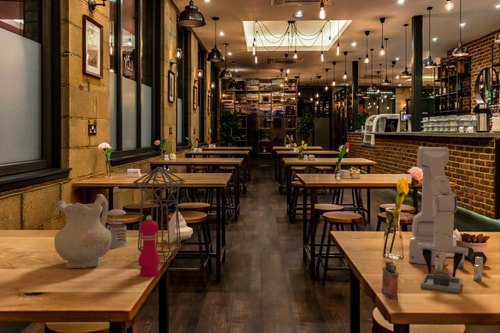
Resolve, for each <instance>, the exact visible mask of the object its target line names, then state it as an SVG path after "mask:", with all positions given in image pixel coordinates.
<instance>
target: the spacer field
mask: <svg viewBox="0 0 500 333" xmlns="http://www.w3.org/2000/svg"><path fill="white" fill-rule="evenodd" d="M446 260H447V253H444V252H438V260H435V265H434V272H435V271H443V268H444V269H445V268H446V264H447V262H446ZM483 267H484V265H483V257H475V265H473V281H474V280H475V281H474V282H479V281H480V282H482V280H483V272H484V270H483V269H484V268H483ZM459 269H460V270H464V269H465V258H464V255H463V258H462V260H461V261H460V263H459V265H458V267H457V270H459Z"/></svg>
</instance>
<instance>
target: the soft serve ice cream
mask: <svg viewBox="0 0 500 333" xmlns="http://www.w3.org/2000/svg"><path fill="white" fill-rule="evenodd" d="M178 215H179V227H180V239H181V241H184V240H188V239H190V238H191V237H192V235H193V233H194V232H193V231H194V230H193V228H192V227H189V226H187V222H186V220H185V219H184V217H183V215H182V214H181V212H180V211H179V210H178ZM168 222H169V239H170V243H177V234H176V211H175V212H174V213H173V214H172V217H171V218H170V220H168ZM163 239H164V240H165V242H166V243H168V231H167V232H166V233H165V235H163ZM178 242H179V232H178Z"/></svg>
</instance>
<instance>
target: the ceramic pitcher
mask: <svg viewBox="0 0 500 333" xmlns="http://www.w3.org/2000/svg"><path fill="white" fill-rule="evenodd" d="M57 204H58V209H59V211H61V212H64V215H65V221H66V223H65V225H64V226H63V228H61V229H59V231H58V232H56V233H55V235H54V238H53V239H54V248H55V251H56V253H57V254H58V256H59V257H61V259H62V260H64V261H67V263H66V264H65V265H64V268H66V269H71V268H72V269H73V268H75V269H76V268H77V269H78V268H79V269H88V268H89V269H90V268H94V267H99V265H100V264H101V261H100V260H99V258H103V257H104V256H105V255H106V254H107V253H108V251H109V249H111V248H110V246H111V240H112V236H111V233H110V231H109V230H108V229H107V227H106V228H105V224H106V222H107V220H108V215H107V214H108V212H109V203H108V200H107V198H106V197H105V194H102V193H98V194H96V199H95V201H94V203H85V204H84V203H80V202H76V203H71V202H70V203H66V202H65V200H63V199H62V200H59V201H57ZM101 213H102V214H101Z"/></svg>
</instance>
